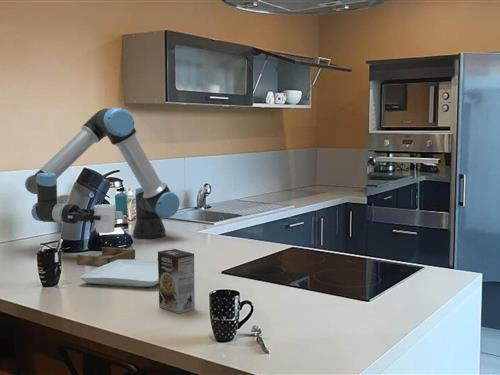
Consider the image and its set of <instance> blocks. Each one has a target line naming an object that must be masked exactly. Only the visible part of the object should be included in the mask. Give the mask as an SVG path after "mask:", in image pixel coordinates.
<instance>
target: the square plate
mask: <svg viewBox="0 0 500 375" xmlns="http://www.w3.org/2000/svg"><path fill="white" fill-rule="evenodd" d="M79 279H81V280H82V281H84V282H85V283H88V284H94V285H95V284H96V285H103V286H104V285H105V286H118V287H131V286H134V287H136V288H148V287H154V286H156V285H157V284H159V279H158V259H157V260H155V259H132V260H116V261H113V262H111V263H108V264H106V265H103V266H101V267H99V266H97V267H96V268H93V269H92V270H90V271H88V272H86V273H84V274H83V275H80V276H79Z"/></svg>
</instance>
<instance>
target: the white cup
mask: <svg viewBox="0 0 500 375" xmlns="http://www.w3.org/2000/svg"><path fill="white" fill-rule="evenodd" d="M93 209H94V214H108V215H109V222H100V221H94V225H95V233H97V234H109V233H113V232H115V223H116V219H115V204H111V203H110V204H105V203H104V204H103V203H102V204H95V205H93Z"/></svg>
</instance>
